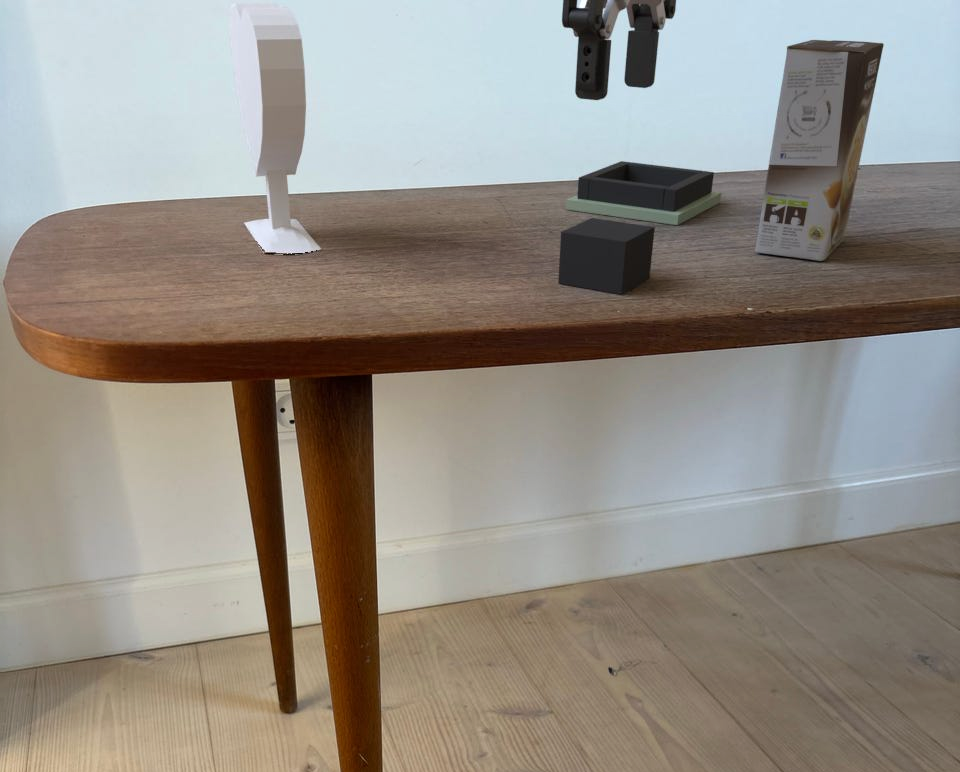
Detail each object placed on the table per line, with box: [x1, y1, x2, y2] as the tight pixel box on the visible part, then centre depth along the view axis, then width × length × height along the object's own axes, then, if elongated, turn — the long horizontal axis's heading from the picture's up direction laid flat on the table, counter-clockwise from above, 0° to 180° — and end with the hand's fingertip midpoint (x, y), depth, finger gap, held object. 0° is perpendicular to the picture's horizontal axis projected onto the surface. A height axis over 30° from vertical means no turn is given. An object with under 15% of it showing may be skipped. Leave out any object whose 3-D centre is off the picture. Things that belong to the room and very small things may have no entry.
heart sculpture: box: [228, 2, 322, 254], centre depth 91 cm, size 16×5×18 cm, turn 19°
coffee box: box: [754, 39, 885, 262], centre depth 91 cm, size 9×6×16 cm
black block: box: [557, 217, 655, 295], centre depth 84 cm, size 6×6×4 cm
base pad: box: [565, 160, 722, 226], centre depth 107 cm, size 12×12×3 cm
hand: (615, 92), depth 78 cm, fingers open, 8 cm apart
